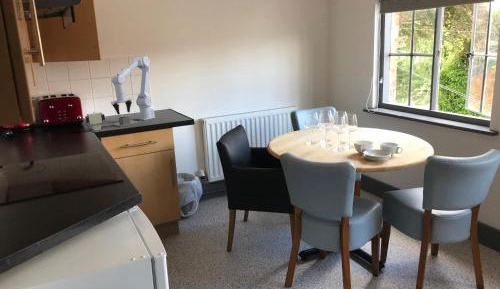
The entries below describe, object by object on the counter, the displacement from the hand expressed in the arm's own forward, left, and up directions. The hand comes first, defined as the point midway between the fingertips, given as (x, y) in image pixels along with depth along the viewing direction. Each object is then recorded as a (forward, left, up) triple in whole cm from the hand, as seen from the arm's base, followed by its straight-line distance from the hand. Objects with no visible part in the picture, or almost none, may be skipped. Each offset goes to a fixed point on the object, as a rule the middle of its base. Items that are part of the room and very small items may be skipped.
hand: (123, 113), depth 277 cm
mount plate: (-1, -2, -8) cm, 8 cm away
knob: (0, 0, -7) cm, 7 cm away
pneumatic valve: (+19, -3, -8) cm, 21 cm away
